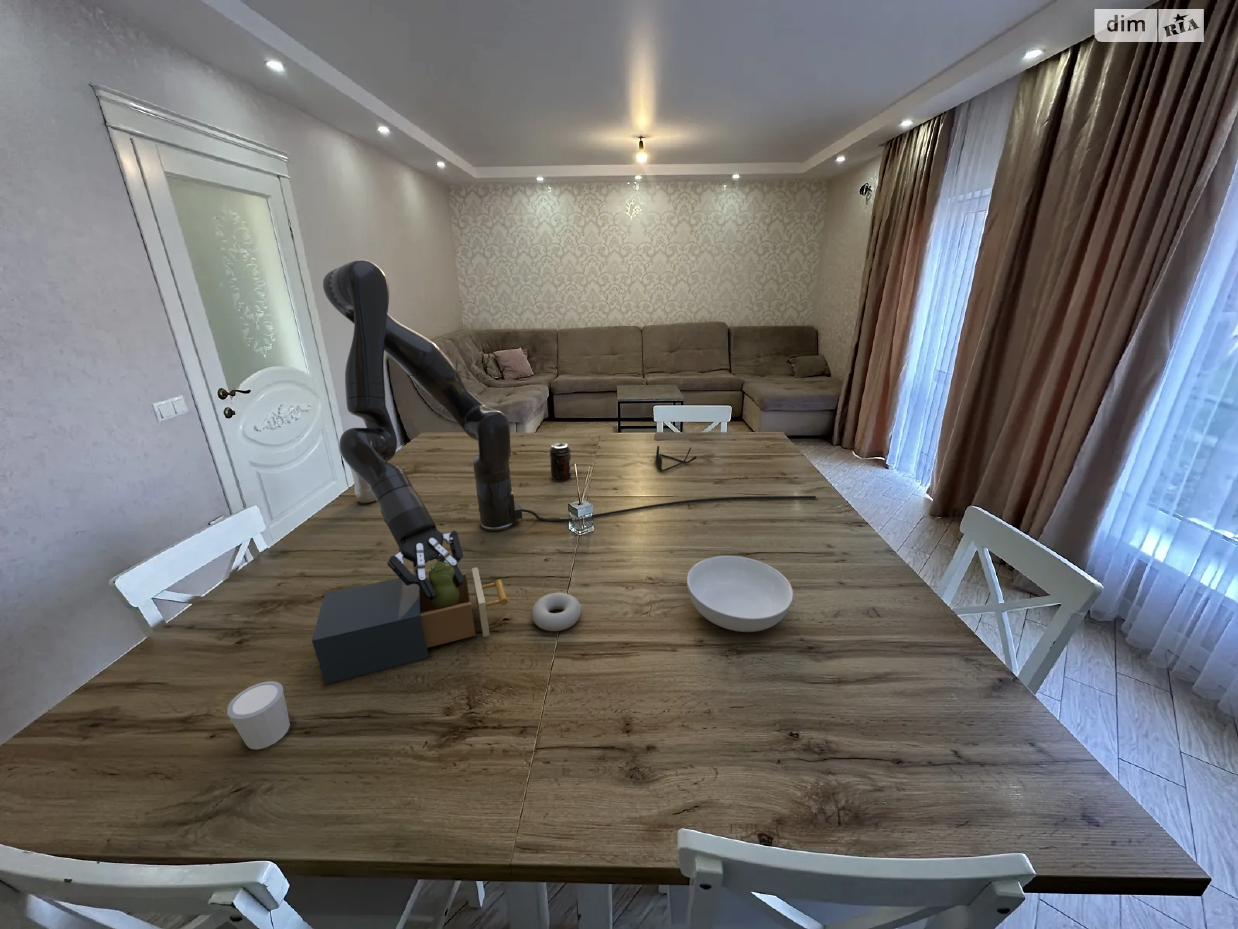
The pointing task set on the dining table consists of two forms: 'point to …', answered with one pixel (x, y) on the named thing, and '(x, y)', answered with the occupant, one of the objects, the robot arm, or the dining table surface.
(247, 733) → the white tapered tub
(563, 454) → the beverage can
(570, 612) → the donut
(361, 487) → the plastic bottle
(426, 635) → the drawer
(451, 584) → the pear
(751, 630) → the serving bowl
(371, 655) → the cabinet
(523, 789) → the dining table surface
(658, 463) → the sunglasses
